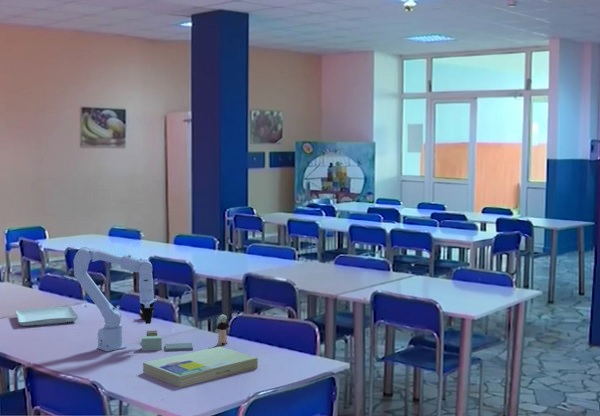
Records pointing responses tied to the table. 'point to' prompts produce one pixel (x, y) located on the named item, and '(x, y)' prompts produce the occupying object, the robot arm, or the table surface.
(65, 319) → the square plate
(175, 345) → the rubber mat
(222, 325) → the grandmother figurine
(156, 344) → the tall sage green block
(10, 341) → the table surface
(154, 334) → the plain olive brown cube
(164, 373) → the puzzle box
